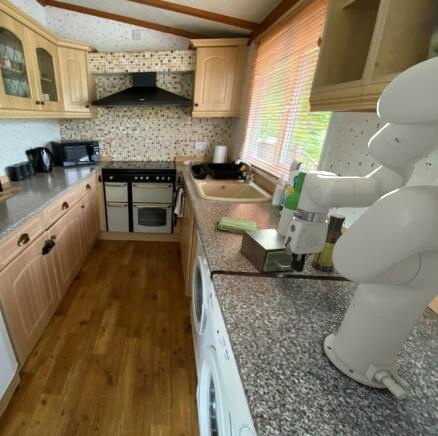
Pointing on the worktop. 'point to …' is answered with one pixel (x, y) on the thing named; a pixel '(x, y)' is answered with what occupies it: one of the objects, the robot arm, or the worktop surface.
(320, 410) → the worktop surface
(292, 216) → the wine bottle
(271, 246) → the cabinet
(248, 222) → the washcloth
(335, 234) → the sauce bottle
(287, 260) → the drawer
